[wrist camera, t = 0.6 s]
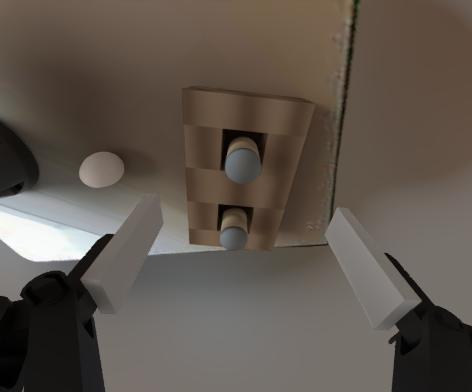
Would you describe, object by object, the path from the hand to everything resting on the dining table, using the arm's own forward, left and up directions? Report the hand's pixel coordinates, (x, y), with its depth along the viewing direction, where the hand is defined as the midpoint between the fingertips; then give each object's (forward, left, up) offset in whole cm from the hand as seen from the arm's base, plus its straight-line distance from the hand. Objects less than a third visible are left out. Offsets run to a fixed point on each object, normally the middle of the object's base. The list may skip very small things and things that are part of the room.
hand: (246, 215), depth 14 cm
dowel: (0, -13, -15) cm, 20 cm away
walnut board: (0, -7, -20) cm, 21 cm away
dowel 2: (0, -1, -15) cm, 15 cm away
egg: (-22, -7, -21) cm, 31 cm away
